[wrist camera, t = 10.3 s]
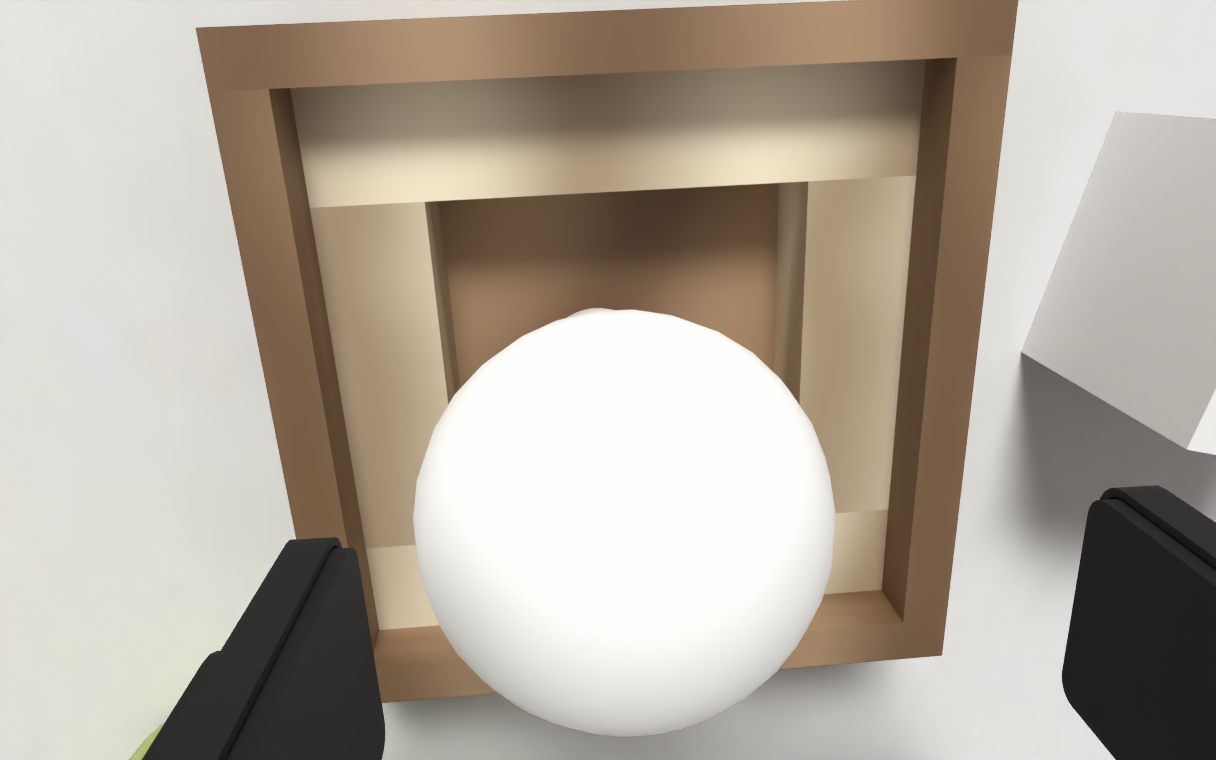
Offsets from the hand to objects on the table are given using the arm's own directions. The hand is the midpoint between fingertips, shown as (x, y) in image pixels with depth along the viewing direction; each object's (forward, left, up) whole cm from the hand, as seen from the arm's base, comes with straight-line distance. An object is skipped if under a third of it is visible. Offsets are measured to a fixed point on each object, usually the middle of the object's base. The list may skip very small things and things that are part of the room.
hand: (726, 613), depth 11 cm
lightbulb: (+1, 0, -10) cm, 10 cm away
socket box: (+1, 0, -11) cm, 11 cm away
